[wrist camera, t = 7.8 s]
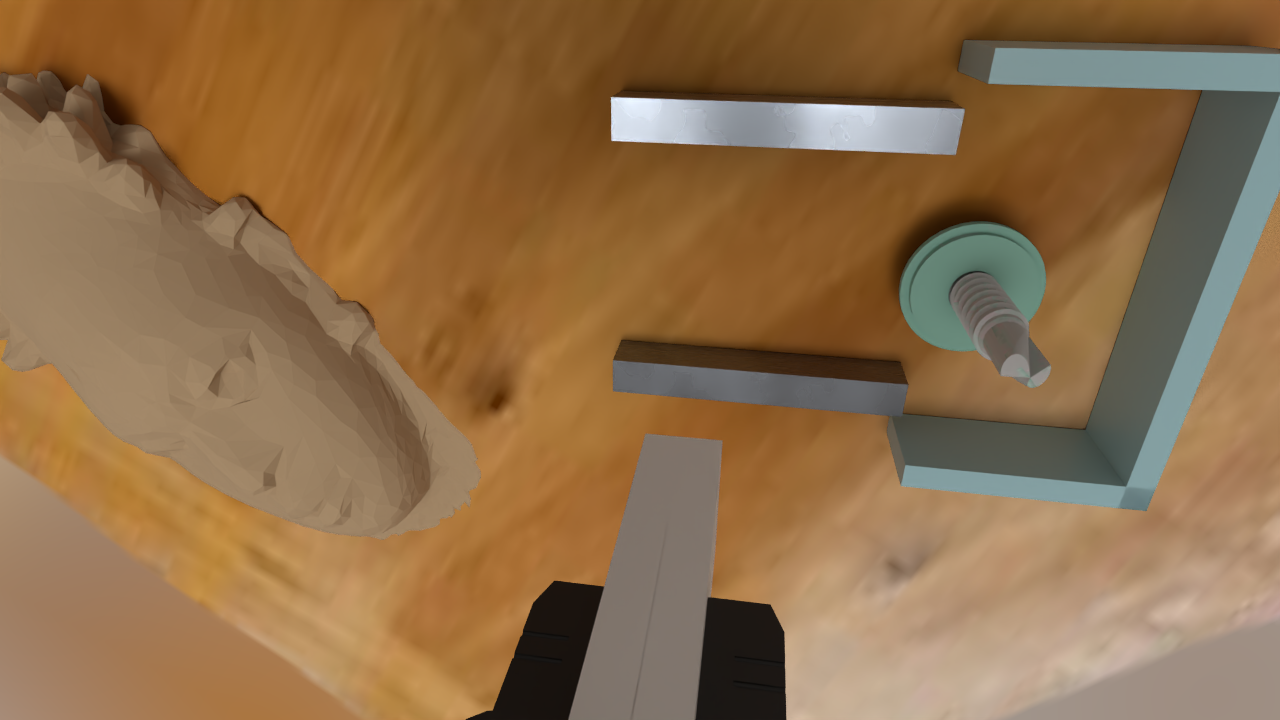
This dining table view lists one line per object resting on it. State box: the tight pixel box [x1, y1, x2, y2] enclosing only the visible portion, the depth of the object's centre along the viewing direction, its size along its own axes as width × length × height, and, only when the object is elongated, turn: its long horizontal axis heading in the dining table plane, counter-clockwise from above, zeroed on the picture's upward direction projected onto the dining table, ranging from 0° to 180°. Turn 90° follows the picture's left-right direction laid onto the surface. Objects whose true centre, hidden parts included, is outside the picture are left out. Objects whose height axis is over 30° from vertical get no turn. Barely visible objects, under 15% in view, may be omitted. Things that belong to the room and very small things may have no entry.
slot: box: [611, 91, 965, 417], centre depth 29 cm, size 12×12×2 cm
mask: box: [0, 71, 481, 540], centre depth 33 cm, size 15×7×30 cm
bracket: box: [887, 40, 1280, 511], centre depth 26 cm, size 16×9×4 cm, turn 0°
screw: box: [899, 221, 1051, 388], centre depth 25 cm, size 9×5×5 cm
